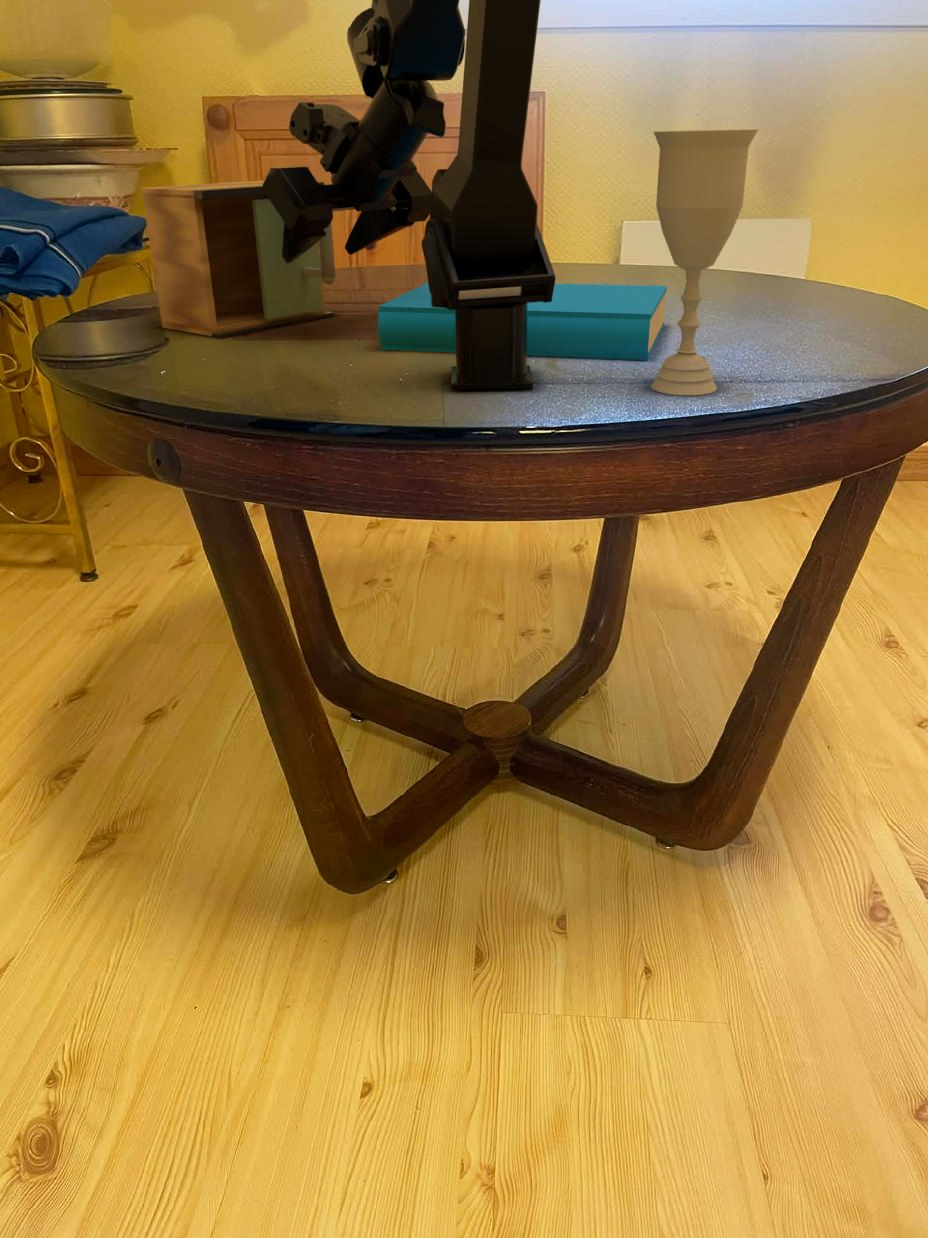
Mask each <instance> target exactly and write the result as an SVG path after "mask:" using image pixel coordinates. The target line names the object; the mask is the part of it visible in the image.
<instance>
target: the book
mask: <svg viewBox="0 0 928 1238" xmlns="http://www.w3.org/2000/svg"><path fill="white" fill-rule="evenodd" d="M667 292H668V285H640V284H639V285H636V284H635V285H632V284H592V283H591V284H589V283H587V284H585V283H555V285H554V291H553V296H552V301H551V302H546V303H544V302H531V303H528V308H527V356H531V357H532V356H533V357H558V358H559V357H560V358H579V359H580V358H581V359H585V358H586V359H606V360H608V359H609V360H610V359H611V360H633V361H649V359H650V357H651V355H652V352H653V351H654V348H655V346H656V345H657V342H658V340H659V338H660V336H661V334H662V332H663V330H664V328H665V309H666V297H667V296H666V294H667ZM377 332H378V339H379V343H380V350H382V351H404V352H405V351H407V352H428V353H429V352H432V353H455V354H456V333H455V310H449V309H447V308H439V307H433V306H432V305H431V293H430V291H429V284H428V282H426V283H423V284H422V285H420V286H418V287H416V288H414V289H411V290H409V291H408V292H406V293H403V294H401V295H399V296H397V297H395V298H393V299H391V300H389V301H386V302H385V303H383V304H381V305H379V306H378V319H377Z"/></svg>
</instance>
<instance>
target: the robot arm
mask: <svg viewBox="0 0 928 1238" xmlns="http://www.w3.org/2000/svg"><path fill="white" fill-rule="evenodd" d="M459 5H460V0H371V5H370V7H369V8H367V9H365V10H363V11H361V12H360V13H359V14H358V15H357V16H355V18H354V19H353V21H352V22H351V24H350V26H349V27H348V28H347V32H346V40H347V44H348V45H347V46H348V48H349V51H350V53H351V57H352V60H353V63H354V65H355V69H356V72H357V75H358V78H359V81H360V84H361V87H362V91H363V93H364V94H365V95H364V96H366V97H368V98H370V99H371V101H370V103H369V105H368V106H367V108H366V110H365V111H364V113H363V115H362V117H361V119H359V118H358V117H356V116H354V115H353V114H351V113H350V112H348V111H347V110H346V109H344V108H343V107H341V106H338V105H335V104H324V103H323V104H315V103H314V102H313V101H299V102H298V103H297V105H296V107H295V108H294V109H293V111H292V112H291V116H290V120H289V124H288V125H289V126H288V129H289V133H290V135H291V136H292V137H294V138H295V139H297V140H298V141H299V142H300V143H301V144H303V145H308V146H309V147H310V148H312V149H313V150H315V151H316V152H317V153H319V154H320V155H322V157H321V158H320V160H319V164H320V165H321V167H322V169H323V170H324V172H326V173H330V174H331V177H330V181H331V183H329V184H324V185H319V183H318V182H319V181H318V180H317V179H316V178H315V176H314V175H313V173H312V171H311V170H310V168H308V166H283V167H282V166H281V167H270V168H269V170H268V171H267V174H266V176H265V178H264V179H263V180H264V182H263V185H262V190H263V191H264V193H265V194H266V196H267V197H268V199H269V200H270V201H271V203H272V204H273V206H274V207H275V209H276V210H277V212H278V213H279V215H280V216H281V218H282V219H283V221H284V234H283V246H282V257H283V259H284V260H285V262H286V263H291V262H293V261H294V260H295V259H297V258H298V257H300V256H301V255H302V254H303V253H305V252H306V251H307V250H308V249H309V248H311V247H312V246H313V245H314V244H316V243H317V242H318V241H319V240H321V239H322V238H323V237H324V236H326V233H325V231H324V229H325V228H327V227H328V226H329V225H330V223H331V222H332V221H333V219H334V212H341V211H342V212H343V211H351V210H355V211H356V212H360V213H359V215H358V217H357V219H356V221H355V223H354V225H353V227H352V229H351V231H350V233H349V235H348V237H347V240H346V242H345V245H344V249H345V251H346V252H347V254H348V255H350V256H352V255H354V254H357V253H358V252H361V251H362V250H364V249H366V248H367V247H370V246H372V245H374V244H375V243H378V242H379V241H381V240H383V239H385V238H388V237H389V236H392V235H394V234H396V233H398V232H400V231H402V230H404V229H406V228H410V227H412V226H414V224H415V223H418V222H426V223H425V228H424V236H423V238H422V240H421V248H422V253H423V258H424V261H425V270H426V276H427V283H428V284H429V291H430V293H431V305H432V306H433V307H439V308H447V309H449V310H455V333H456V353H455V365H454V366H451V375H450V376H451V377H450V389H452V390H502V389H504V390H506V389H533V388H534V385H535V381H534V377H533V373H532V370H531V366H530V365H528V355H527V308H528V303H531V302H544V303H546V302H551V301H552V296H553V291H554V285H555V284H556V274H555V271H554V268H553V265H552V262H551V259H550V257H549V254H548V251H547V248H546V245H545V242H544V238H543V236H542V234H541V230H540V228H539V224H538V210H539V208H538V206H539V205H538V203H537V200H536V199H535V195H534V194H533V191H532V189H531V187H530V184H529V182H528V179H527V178H526V175H525V172H524V171H523V166H522V165H523V155H524V145H525V139H526V128H527V120H528V112H529V104H530V103H529V102H530V93H531V85H532V79H533V69H534V61H535V60H534V59H535V51H536V43H537V34H538V26H539V17H540V10H541V9H540V8H541V0H468V11H467V25H466V29H465V25H464V22H463V18H462V13H461V10H460V6H459ZM463 59H464V66H463V79H462V92H461V104H460V106H461V107H460V120H459V132H458V133H459V134H458V147H457V153H456V156H455V157H454V158H453V160H452V161H451V163H450V165H449V166H448V168H438V169H437V170H436V172H435V173H434V175H433V178H432V181H431V188H430V187H429V186H428V184H427V183H426V181H425V180H424V178H423V177H422V175H421V174H420V173H419V171H418V166H416V164H415V162H413V159H414V157H415V156H416V154H417V153H418V150H419V149H420V148H421V146H422V145H423V143H424V141H426V138H427V137H428V135H433V136H435V137H439V138H443V137H444V136H445V134H446V126H447V124H446V123H447V122H446V119H445V115H444V109H445V103H444V102H443V101H442V100H439V98H438V95H437V92H436V90H435V87H434V86H433V85H432V84H431V83H430V82H431V81H432V82H434V81H435V82H436V81H437V82H439V81H440V82H442V81H443V82H445V81H451V80H452V79H453V78H454V77H455V75H456V73H457V72H458V68H459V67H460V65H461V64H462V63H463ZM429 81H430V82H429Z"/></svg>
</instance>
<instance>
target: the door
mask: <svg viewBox="0 0 928 1238" xmlns="http://www.w3.org/2000/svg"><path fill="white" fill-rule="evenodd" d="M252 206H253V216H254V225H255V235H256V244H257V254H258V263H259V273H260V282H261V291H262V301H263V310H264V319H265V320H271V319H277V318H282V317H287V316H293V315H298V314H303V313H308V312H314V311H319V310H323V304H322V292H321V279H320V278H322V279H323V282H324V284H326V285H331V284H334V282H335V281H336V266H335V264H336V263H335V253H334V252H335V251H334V238H333V224H332V223H333V222H332V221H331V223H330V225H329V226H328V227H327V228H325V229H324V231H325V233H326V236H324V237H323V238H322V239H321V240H319V245H320V258H321V269H320V267H319V254H318V242H317V243H316V244H314V245H313V246H312V247H311V248H309V249H308V250H307V251H306V252H305V253H303V254H302V255H301V256H300V257H298V258H297V259H295V260H294V261H293V262H291V263H286V262H285V260H284V259H283V257H282V246H283V234H284V221H283V219H282V218H281V216H280V215H279V213H278V212H277V210H276V209H275V207H274V206H273V204H272V203H271V201H270V200H269V199H268V198H266V199H254V200H252Z"/></svg>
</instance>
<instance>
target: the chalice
mask: <svg viewBox="0 0 928 1238" xmlns="http://www.w3.org/2000/svg"><path fill="white" fill-rule="evenodd" d="M758 131H759V129H696V130H695V129H694V130H657V131H656V130H655V131H653V134H654V137H655V140H656V143H657V144H658V147H659V155H658V156H659V157H658V170H657V171H658V172H657V187H656V200H655V201H656V203H655V208H656V210H657V215H658V219H659V223H660V228H661V232H662V235H663V238H664V240H665V243H666V245H667V248H668V250H669V253H670V256H671V258H672V261H673V264H674V265H675V266H677V267H678V268H680V269H682V270H684V272H685V278H686V279H685V280H686V281H685V285H684V290H683V294H681V296H680V297H679V298H680V300H681V302H682V306H683V313H682V316H681V319H680V320H678V321H677V325H678V327H679V329H680V334H681V341H680V345H679V348H678V349H676V350H675V351H676V353H674V354H672V355H668V356H667V357H666V358H665V359H664V360H663V361H662V362H661V364H660V365H661V367H660V368H659V370H658V372H656V378H655V379H654V381H653V382H652V383H651V386H650V388H651V389H652V390H653V391H655V392H658V393H662V394H666V395H673V396H701V395H708V394H712V393H714V392H716V391H717V390H718V387H717V385H716V383H715V381H714V380H713V379H714V374H713V372H712V370H711V368H710V367H711V364H710V363H709V361H708V360H707V358H706V357H705V356H703V355H699V354H698V350H697V349H696V347H695V336H696V332H697V329H698V328H699V327H700V326H701V325H702V323H701V322H700V320H699V319H698V313H697V310H698V307H699V304H700V303H701V301H702V300H703V297H702V295H701V291H700V279H701V275H702V271H704V270H707V269H708V268H710V267H712V266H714V265H715V263H716V261H717V260H718V258H719V256H720V254H721V253H722V251H723V249H724V247H725V245H726V243H727V241H728V240H729V238H730V236H731V234H732V232H733V231H734V227H735V225H736V222H737V220H738V218H739V216H740V213H741V211H742V208H743V206H744V195H745V187H746V186H745V185H746V176H747V167H748V166H747V165H748V156H749V147H750V145H751V144H752V142H753V140H754V139H755V136H756V135H757V133H758Z"/></svg>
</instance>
